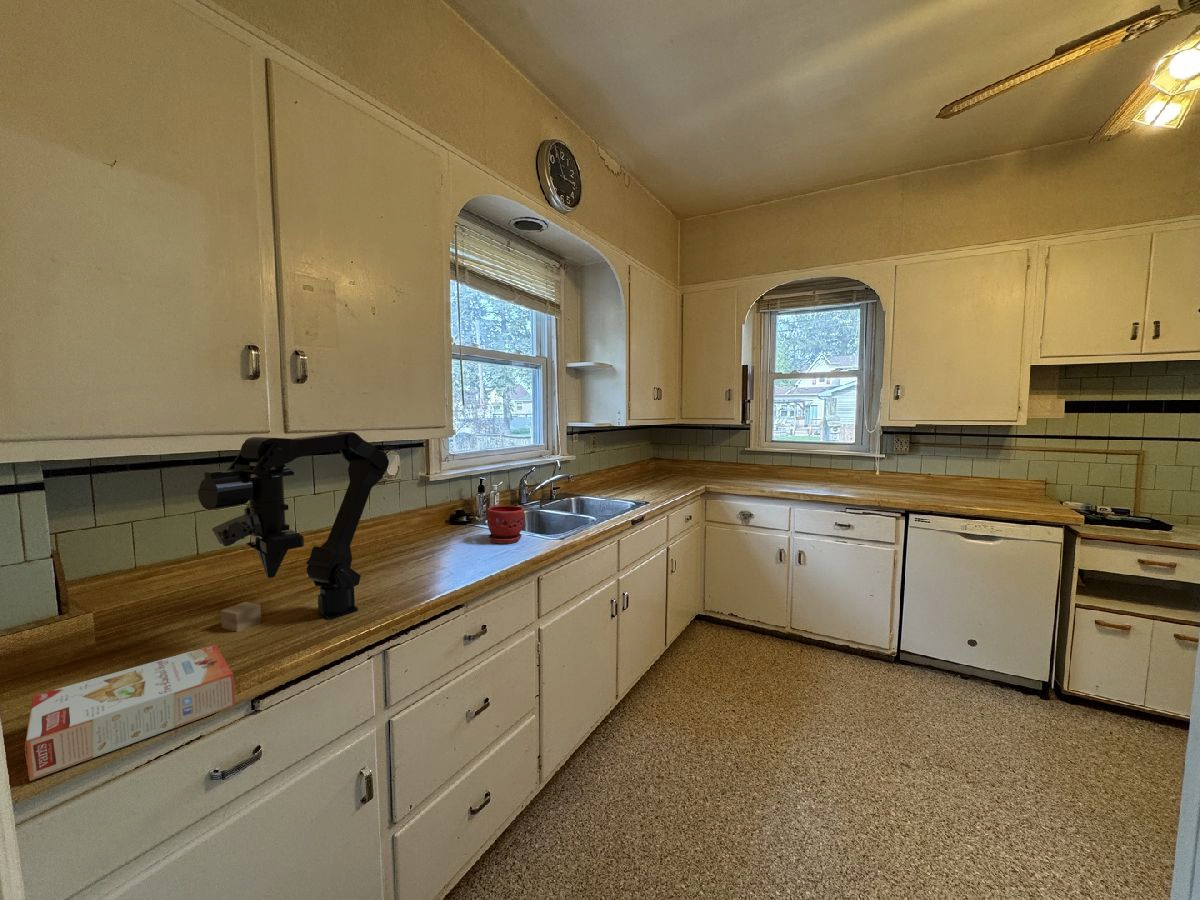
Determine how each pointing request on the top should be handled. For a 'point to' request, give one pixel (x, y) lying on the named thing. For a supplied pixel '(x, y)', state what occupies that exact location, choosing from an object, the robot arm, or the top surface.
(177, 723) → the cracker box
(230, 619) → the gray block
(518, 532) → the plant pot
